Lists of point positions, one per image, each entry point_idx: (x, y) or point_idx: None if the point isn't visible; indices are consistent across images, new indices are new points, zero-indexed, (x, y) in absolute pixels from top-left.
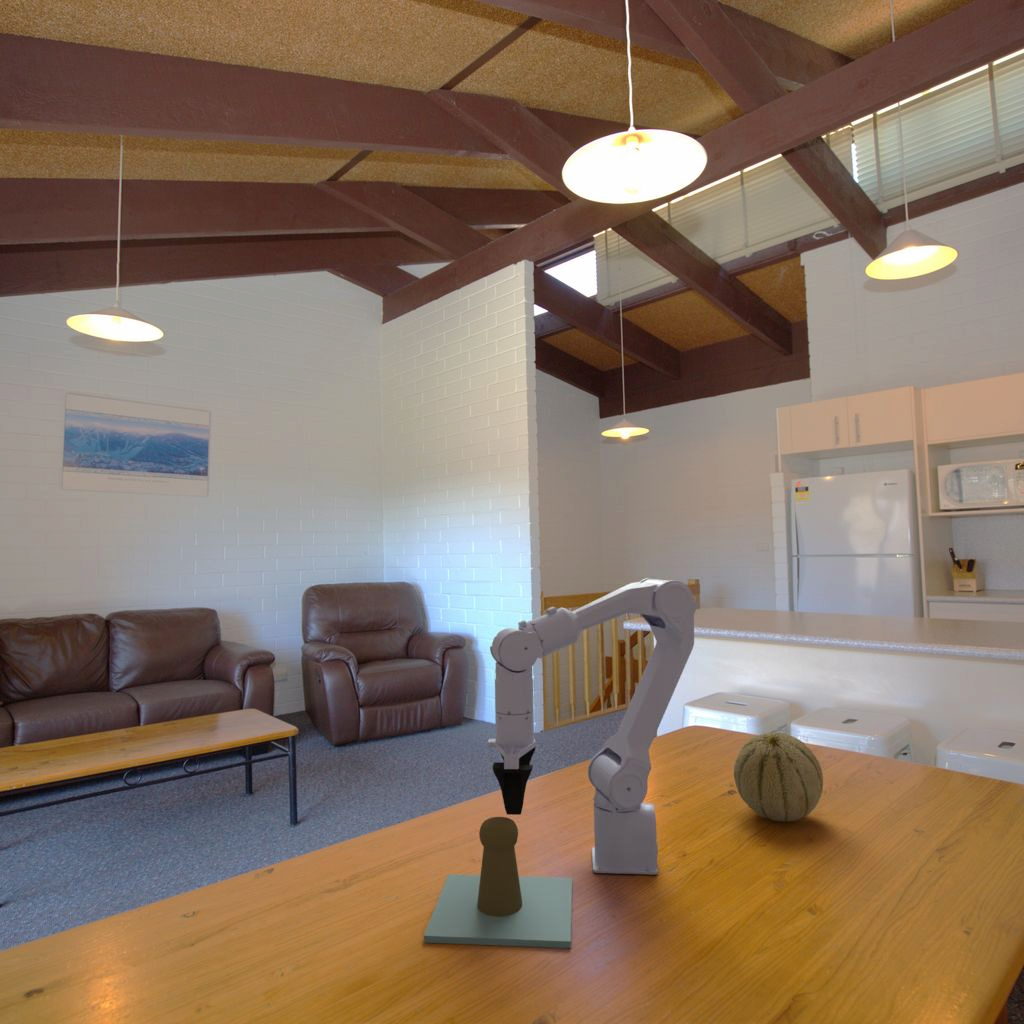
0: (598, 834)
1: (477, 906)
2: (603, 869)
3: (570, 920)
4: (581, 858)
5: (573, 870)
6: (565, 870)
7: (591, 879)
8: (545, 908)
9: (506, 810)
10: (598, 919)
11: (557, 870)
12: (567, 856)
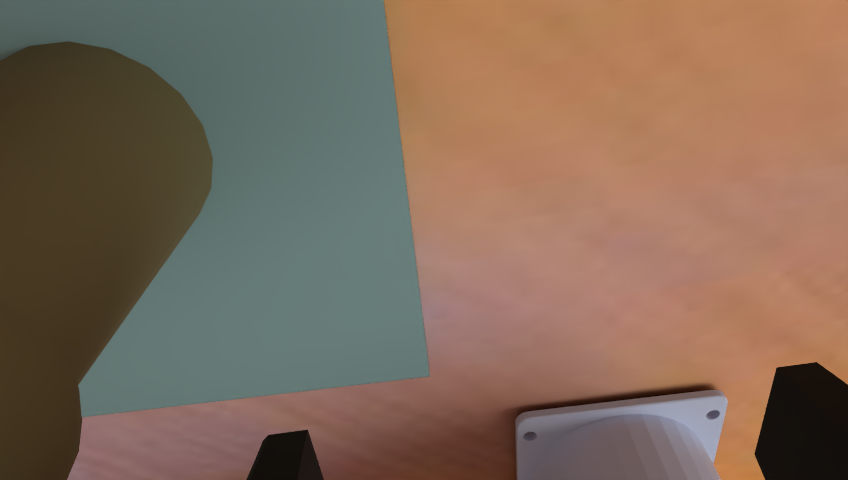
0: None
1: (20, 50)
2: (524, 447)
3: (98, 413)
4: (654, 359)
5: (544, 348)
6: (542, 323)
7: (474, 407)
8: (145, 332)
9: (252, 468)
10: (196, 452)
11: (540, 296)
12: (676, 312)
